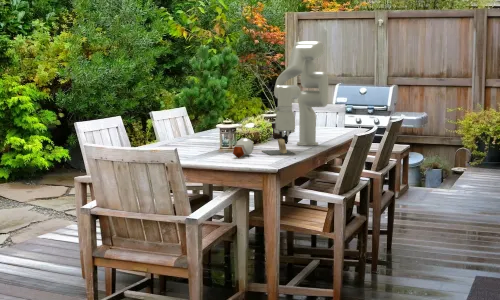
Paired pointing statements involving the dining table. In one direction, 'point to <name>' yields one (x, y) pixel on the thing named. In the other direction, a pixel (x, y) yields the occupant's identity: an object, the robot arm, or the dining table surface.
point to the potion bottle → (243, 147)
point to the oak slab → (282, 145)
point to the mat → (277, 152)
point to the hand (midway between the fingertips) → (284, 143)
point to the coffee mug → (275, 135)
